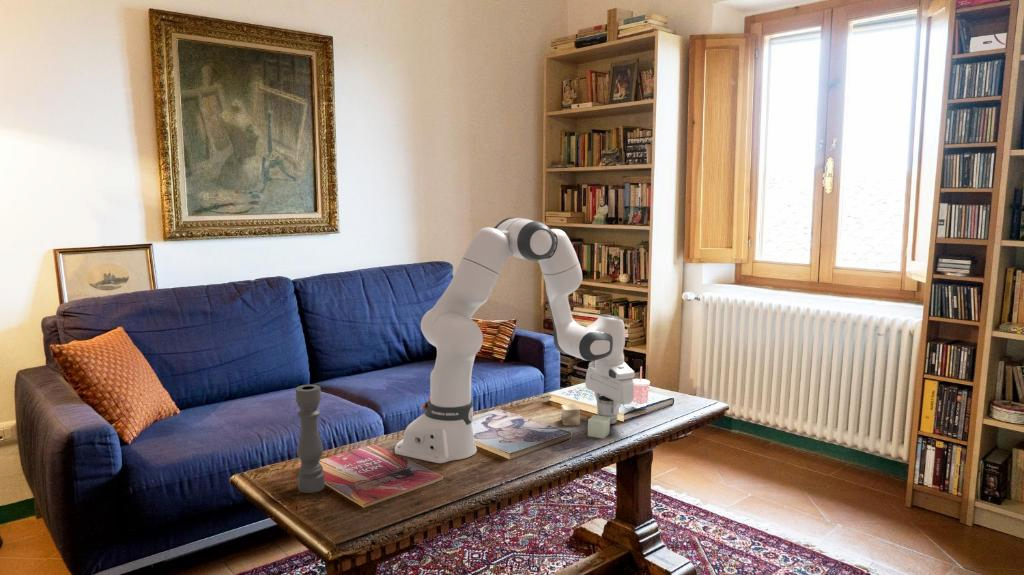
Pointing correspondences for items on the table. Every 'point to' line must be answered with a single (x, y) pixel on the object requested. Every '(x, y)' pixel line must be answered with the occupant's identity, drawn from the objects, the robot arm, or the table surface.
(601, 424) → the sage cube
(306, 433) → the candle holder
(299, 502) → the table surface
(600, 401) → the potted succulent
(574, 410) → the birch cube
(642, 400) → the beverage cup
